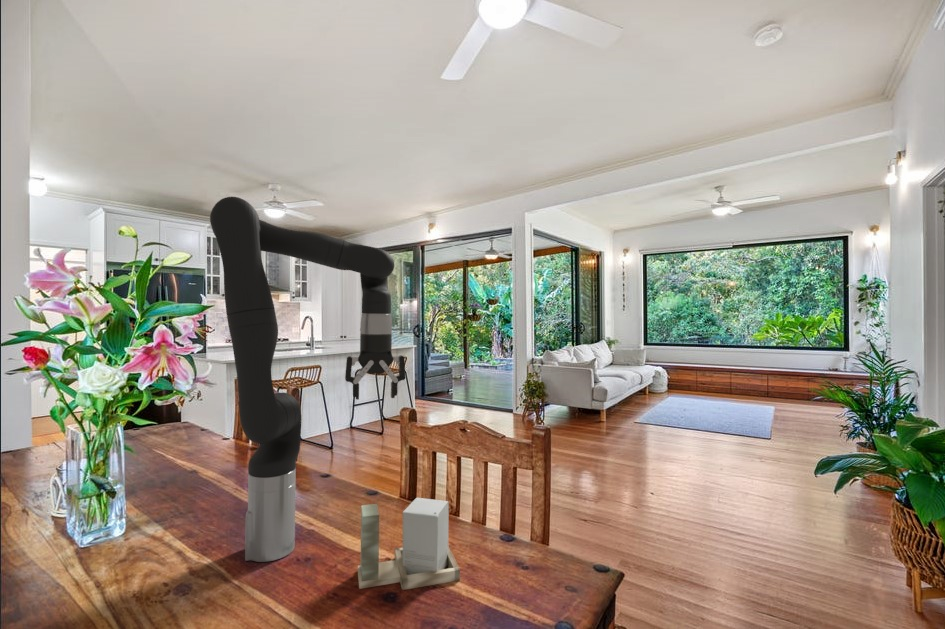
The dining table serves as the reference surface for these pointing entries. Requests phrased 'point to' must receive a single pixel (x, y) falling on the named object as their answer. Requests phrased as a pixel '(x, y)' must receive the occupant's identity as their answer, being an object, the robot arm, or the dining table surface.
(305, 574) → the dining table surface
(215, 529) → the dining table surface
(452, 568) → the tray with upright post
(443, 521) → the supplement box
